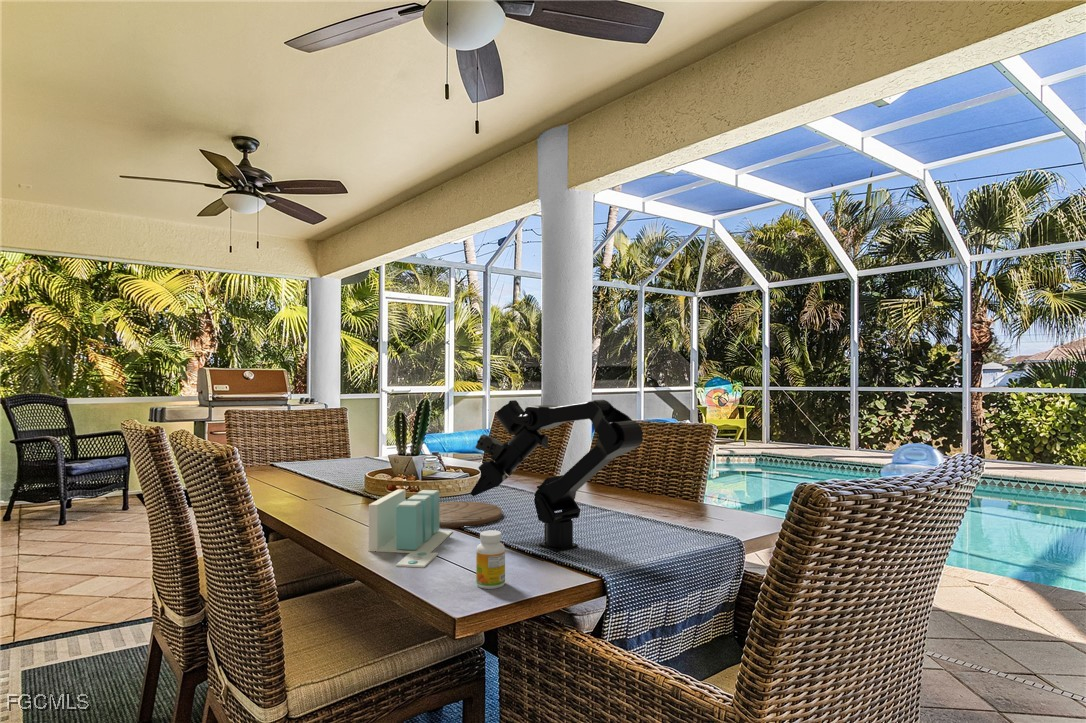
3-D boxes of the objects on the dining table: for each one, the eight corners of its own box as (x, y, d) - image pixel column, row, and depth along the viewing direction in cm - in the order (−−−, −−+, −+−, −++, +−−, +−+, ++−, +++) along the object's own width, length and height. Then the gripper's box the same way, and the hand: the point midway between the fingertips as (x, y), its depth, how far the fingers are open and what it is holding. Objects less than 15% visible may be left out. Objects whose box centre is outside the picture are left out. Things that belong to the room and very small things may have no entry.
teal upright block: (431, 536, 152) (431, 495, 152) (425, 541, 147) (425, 499, 147) (413, 536, 152) (413, 494, 152) (406, 541, 148) (406, 498, 148)
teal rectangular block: (439, 529, 158) (439, 490, 158) (433, 534, 154) (433, 493, 154) (421, 529, 159) (422, 489, 159) (415, 533, 154) (415, 493, 154)
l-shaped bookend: (452, 532, 158) (452, 490, 158) (429, 553, 140) (429, 506, 140) (398, 530, 160) (398, 489, 160) (368, 551, 142) (368, 504, 142)
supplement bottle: (473, 581, 122) (473, 530, 122) (500, 578, 124) (500, 528, 124) (480, 591, 117) (480, 537, 117) (508, 587, 119) (508, 535, 119)
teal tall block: (422, 544, 145) (422, 501, 145) (416, 549, 141) (416, 505, 141) (403, 543, 146) (403, 500, 146) (396, 549, 141) (396, 504, 142)
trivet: (518, 513, 180) (518, 506, 180) (467, 534, 158) (467, 526, 158) (446, 504, 192) (446, 498, 192) (389, 522, 170) (389, 515, 170)
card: (437, 554, 139) (437, 552, 139) (424, 567, 130) (424, 564, 130) (411, 553, 140) (411, 551, 140) (396, 566, 131) (396, 563, 131)
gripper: (503, 420, 164) (461, 462, 165) (487, 426, 145) (440, 474, 146) (534, 451, 162) (491, 494, 164) (521, 462, 144) (474, 510, 145)
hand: (474, 492), depth 155 cm, fingers open, 6 cm apart
